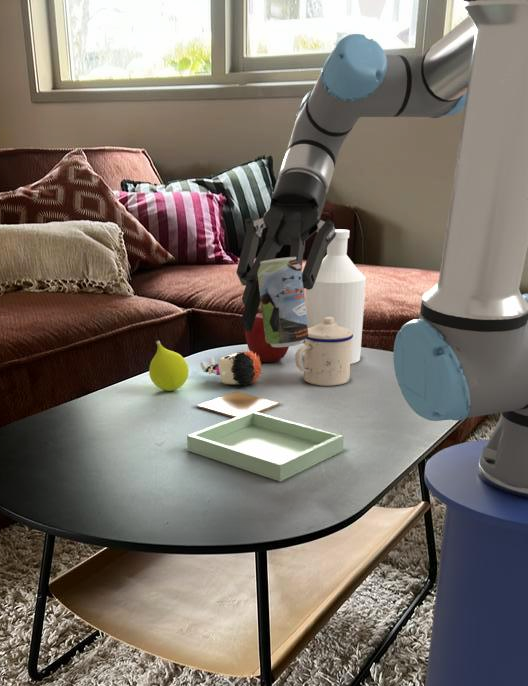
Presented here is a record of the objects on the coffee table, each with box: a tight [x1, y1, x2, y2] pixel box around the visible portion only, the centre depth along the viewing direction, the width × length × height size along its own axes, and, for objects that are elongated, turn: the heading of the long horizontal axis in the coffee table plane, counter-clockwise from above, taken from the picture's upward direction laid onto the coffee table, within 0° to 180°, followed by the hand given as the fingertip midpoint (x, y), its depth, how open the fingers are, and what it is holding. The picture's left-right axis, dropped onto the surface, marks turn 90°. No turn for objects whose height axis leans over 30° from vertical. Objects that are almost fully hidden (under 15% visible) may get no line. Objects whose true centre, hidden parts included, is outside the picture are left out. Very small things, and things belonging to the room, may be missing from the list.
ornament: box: [148, 337, 189, 392], centre depth 138 cm, size 7×7×10 cm
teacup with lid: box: [294, 317, 353, 387], centre depth 141 cm, size 12×9×12 cm
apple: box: [244, 312, 290, 363], centre depth 155 cm, size 10×10×10 cm
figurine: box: [200, 350, 262, 387], centre depth 143 cm, size 7×6×12 cm
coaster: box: [196, 391, 280, 418], centre depth 131 cm, size 10×10×1 cm
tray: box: [186, 411, 345, 482], centre depth 111 cm, size 18×15×2 cm
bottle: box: [305, 229, 367, 365], centre depth 153 cm, size 12×12×25 cm
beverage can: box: [257, 256, 308, 348], centre depth 105 cm, size 6×7×12 cm
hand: (260, 326), depth 104 cm, fingers closed on beverage can, 3 cm apart
